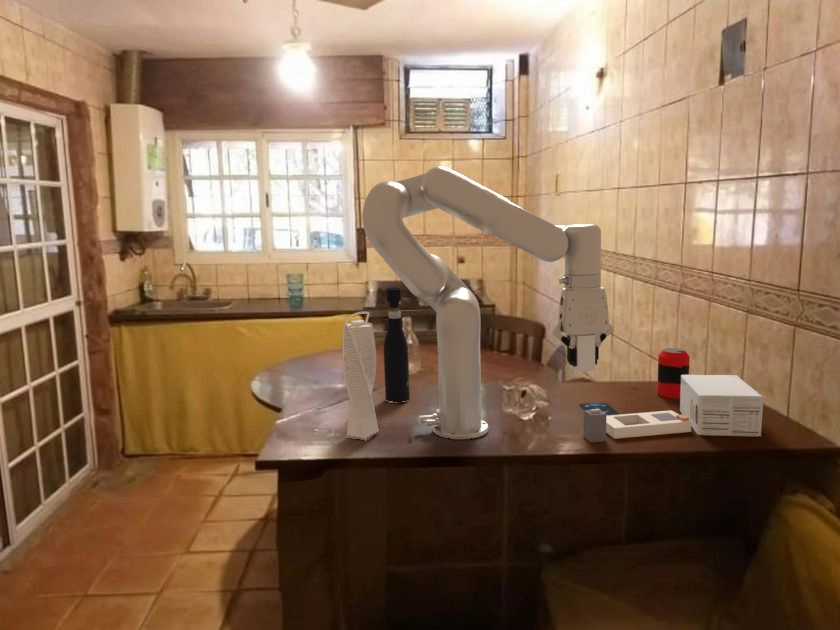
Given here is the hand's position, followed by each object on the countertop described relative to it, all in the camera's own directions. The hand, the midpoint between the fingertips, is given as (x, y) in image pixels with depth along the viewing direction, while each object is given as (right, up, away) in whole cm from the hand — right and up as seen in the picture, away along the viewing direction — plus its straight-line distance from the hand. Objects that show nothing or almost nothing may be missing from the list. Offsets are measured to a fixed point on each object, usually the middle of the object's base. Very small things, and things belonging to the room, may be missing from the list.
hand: (582, 363), depth 141 cm
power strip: (+14, -15, +2) cm, 21 cm away
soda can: (+30, -11, +27) cm, 42 cm away
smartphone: (+8, -14, +14) cm, 21 cm away
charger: (0, -1, 0) cm, 1 cm away
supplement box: (+32, -14, +5) cm, 35 cm away
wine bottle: (-42, -12, +29) cm, 53 cm away
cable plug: (+2, -16, -3) cm, 17 cm away
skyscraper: (-49, -17, +3) cm, 52 cm away
